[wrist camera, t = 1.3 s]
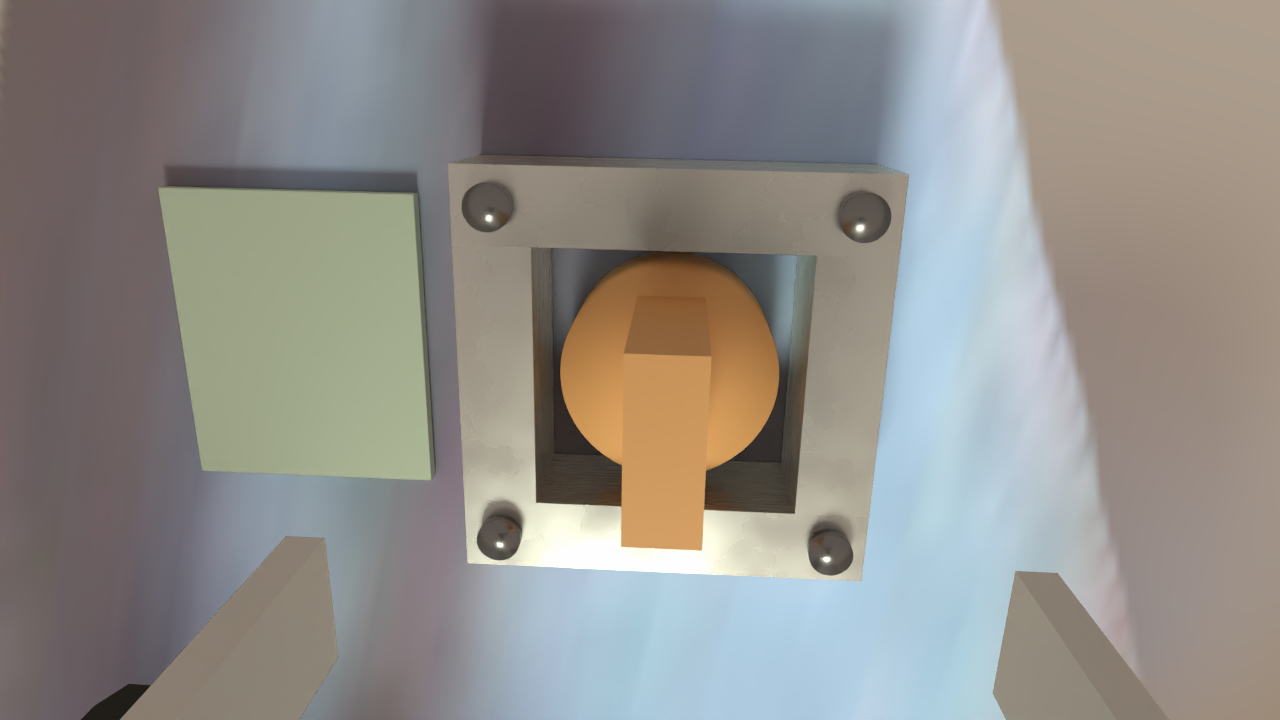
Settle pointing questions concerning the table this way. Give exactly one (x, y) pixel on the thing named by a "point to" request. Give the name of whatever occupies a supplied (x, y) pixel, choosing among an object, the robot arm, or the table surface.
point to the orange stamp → (669, 385)
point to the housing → (685, 222)
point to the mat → (303, 329)
